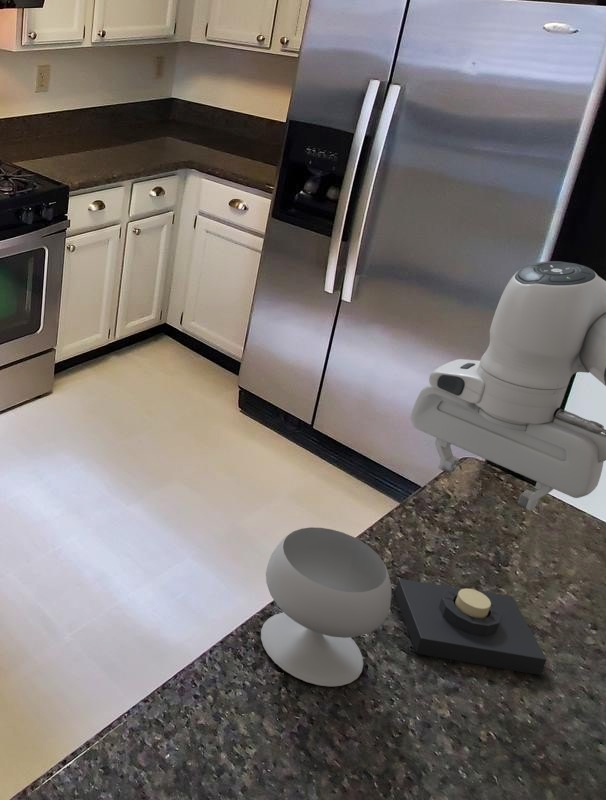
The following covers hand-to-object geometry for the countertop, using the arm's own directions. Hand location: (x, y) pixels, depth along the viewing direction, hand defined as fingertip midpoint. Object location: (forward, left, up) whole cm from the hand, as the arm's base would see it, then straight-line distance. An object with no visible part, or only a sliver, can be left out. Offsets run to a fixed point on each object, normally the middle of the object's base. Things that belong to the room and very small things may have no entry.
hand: (484, 487), depth 101 cm
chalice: (+19, +13, -20) cm, 30 cm away
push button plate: (-1, +5, -20) cm, 20 cm away
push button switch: (-1, +5, -15) cm, 16 cm away
